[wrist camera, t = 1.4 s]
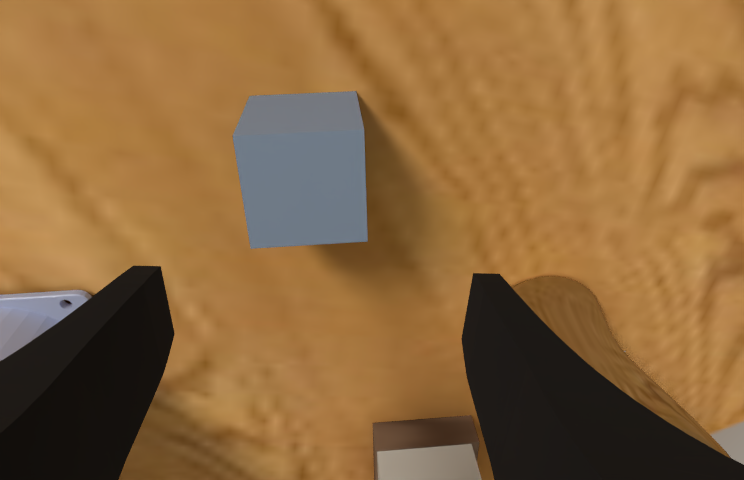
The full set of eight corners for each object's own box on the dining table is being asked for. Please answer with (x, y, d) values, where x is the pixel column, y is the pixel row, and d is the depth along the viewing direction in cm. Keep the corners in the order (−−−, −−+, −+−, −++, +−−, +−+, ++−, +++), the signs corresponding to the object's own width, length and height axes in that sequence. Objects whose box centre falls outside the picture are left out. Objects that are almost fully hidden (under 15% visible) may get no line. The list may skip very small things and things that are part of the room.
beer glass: (530, 395, 29) (693, 762, 16) (441, 335, 27) (552, 717, 14) (634, 315, 27) (919, 669, 14) (548, 240, 24) (803, 593, 11)
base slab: (373, 480, 33) (377, 514, 31) (372, 417, 30) (375, 450, 28) (463, 472, 33) (471, 505, 31) (469, 409, 30) (479, 441, 28)
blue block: (263, 192, 22) (250, 248, 18) (249, 95, 20) (232, 136, 16) (359, 186, 22) (367, 241, 19) (356, 90, 20) (364, 129, 17)
